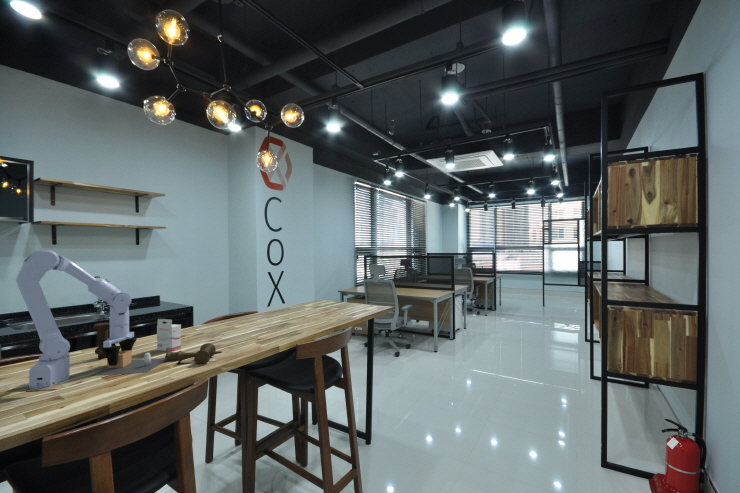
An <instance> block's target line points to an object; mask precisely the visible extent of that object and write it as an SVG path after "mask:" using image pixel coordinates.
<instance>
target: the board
mask: <svg viewBox="0 0 740 493" xmlns="http://www.w3.org/2000/svg"><path fill="white" fill-rule="evenodd" d="M131 361H132V363H130V364H128V365H126V366H124V367H119V368H107V366H106V367H104V368H102V369H100V370H98V371H96V372H94V373H92V374H90V375H89V377H96V376H97V377H98V376H114V375H115V376H116V375H130V374H145V373H146V374H147V373H149V372H151V371H152V370H153V369H154V368H155V369H156V368H157V367H158V366H159V365H161V364H163V363H164V362H165V357H161V358H151V353H150V352H145V353H144V355H143V358H141V359H140V358H139V359H131Z"/></svg>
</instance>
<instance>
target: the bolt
mask: <svg viewBox="0 0 740 493" xmlns="http://www.w3.org/2000/svg"><path fill="white" fill-rule="evenodd" d="M109 329H110V321H109V322H98V323H94V325H93V330H96V331H97V348H95V349H94V354H95V355H97V359H98V360H105V359H107V358H106V355H105V354H104V352H103V351H102V350H101V347H102V346H103V342H105V341H106V340H107V339H109Z"/></svg>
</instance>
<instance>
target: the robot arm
mask: <svg viewBox="0 0 740 493" xmlns="http://www.w3.org/2000/svg"><path fill="white" fill-rule="evenodd" d="M51 270H53V271H61V272H64V273H66V274H68V275H70V276H71V277H73V278H75V279H77V280H78V281H80V282H81V283H83V284H85V285H87V288H88V289H87V290H88V292H89V293H91V294H93V295H94V296H95V297H97V298H99V299H100V300H102V301H104V302H106V303H107V305H108V306H109V323H110V328H109V337H108V339H107V340H106V341H105V342H103V346H102V347H101V350H102V351H103V352H104V354H105V355H106V358H105V359H106V361H107V360H108V363H109V366H113V365H117V361H118V354H119V351H131V352H132V351H133V347H134V345H135V343H136V342H137V337H135V331H130V305H131V303H132V298H131V297H130V295H129V293H126V292H123V291H122V288H120V287H116V286H115V285H113V284H112V283H111V280H110V279H108V278H105V279H104V277H101V278H96V277H94V276H93V275H91V274H90V273H89V272H87V271H86V270H84V269H83V268H82V267H80V266H79V265H78V264H76V263H75V262H74V261H72V260H70V259H69V258H67V257H64V256H63V255H60V254H58V253H56V252H55V251H54V250H50V249H41V250H36V251H33V252H32V253H30V254H29V255H28V256H27V257H26V258H25V259H24V260H23V263H22V266H21V267H20V270H19V271H18V274H17V276H16V278H15V282H16V284H17V288H18V289H19V292H20V295H21V296H22V299H23V300H24V303H25V305H26V308H27V310H28V312H29V315H30V316H31V317H30V318H31V319H32V322H33V325H34V326H35V328H36V331H37V335H38V337H39V339H40V341H39V345H38V348H39V350H40V352H42V354H41V355H40V356H39V357H38V361H37V363H36V364H35V363H34V365H32V366H31V367H30V368H29V369H30V370H29V371H28V372H29V373H28V374H29V375H28V376H29V377H28V378H29V379H28V382H29V383H28V387H29V388H31V389H33V388H34V389H35V388H44V387H45V388H46V387H49V388H50V387H52V386H54V385H56V384H58V383H62V382H65V381H67V380H69V379H70V367H71V366H70V359H71V358H70V355H71V354H70V352H69V351H70V349H71V343H70V341H68V340H67V339H66V338H65V337H63V335H62V333H61V331H60V329H59V327H58V325H57V323H56V321H55V318H54V316H53V313H52V311H51V308H50V306H49V303H48V301H47V298H46V296H45V294H44V291H43V288H42V286H41V284H40V281H41V280H42V278H44V276H45V275H46V274H47V273H48V272H49V271H51ZM117 344H119V345H117ZM55 390H56V388H50V389H35V390H26V391H25V392H26V393H31V392H43V391H44V392H46V391H55Z"/></svg>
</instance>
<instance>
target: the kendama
mask: <svg viewBox="0 0 740 493" xmlns="http://www.w3.org/2000/svg"><path fill="white" fill-rule="evenodd" d="M221 353H223V351H221V350H220V351H217V349H216V346H215V345H214V344H213V343H210V342H207V343H204V344H202V345H201V346H200V348H199V350H198V351H197V352H184V351H182V350H179V351H177V352H175V351H166V353H165V355H164V358H165V361H164V362H165V363H168V362H171V361H172V362H173V361H177V363H181V362H182V361H185V360H187V359H188V360H189V359H192V358H193V359H194V362H195V363H196V364H197V365H206V364H207V363H208V362H210V360H211V359H210V358H212V357H214V356H215V355H216V354H218V355H219V354H221Z"/></svg>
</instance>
